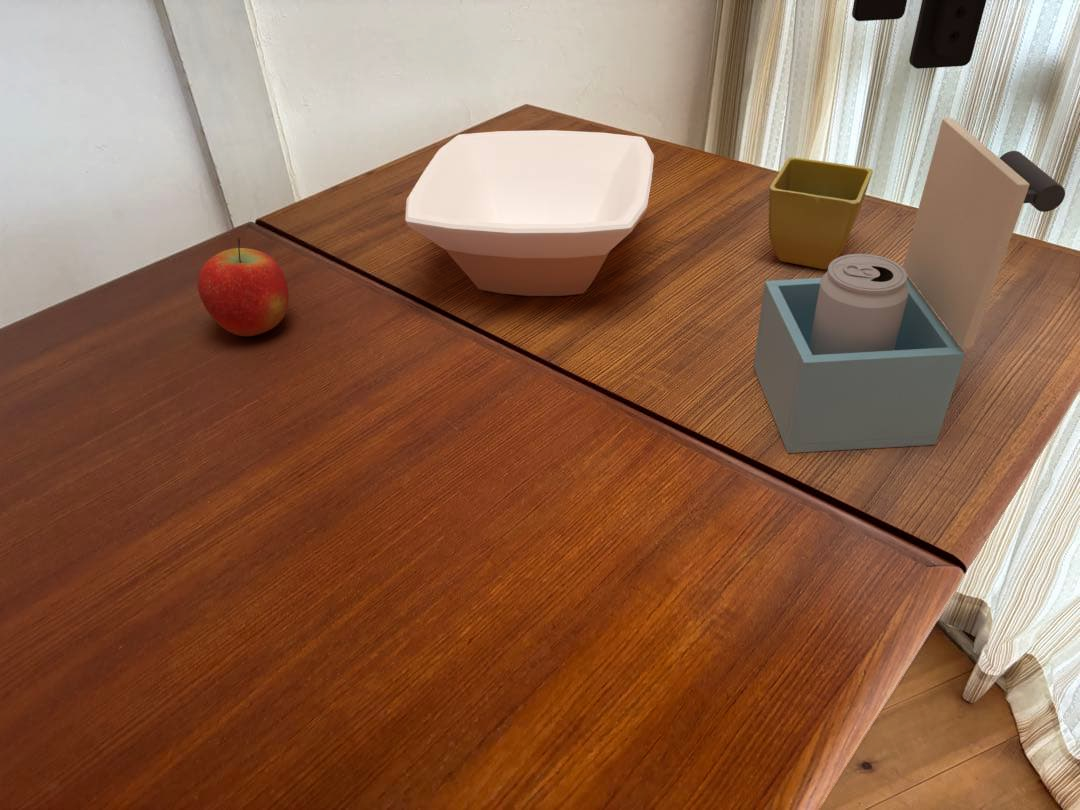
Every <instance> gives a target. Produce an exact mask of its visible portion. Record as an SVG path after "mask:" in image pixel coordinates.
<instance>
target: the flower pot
mask: <svg viewBox="0 0 1080 810" xmlns="http://www.w3.org/2000/svg"><path fill="white" fill-rule="evenodd" d="M873 172H874V171H873V169H872V168H869V167H868V168H867V167H863V166H859V165H851V164H844V163H838V162H829V161H823V160H815V159H808V158H803V157H802V158H801V157H791V156H790V157H788V158H787V159H786V160H785V161H784V163H783V166H782V167H781V169H780V170H779V172H778V173H777V175H776V176H775V178H774V180H773V181H772V183H771V184H770V186H769V195H768V236H769V240H770V243H771V246H772V250H773V252H774V253H775V255H776V257H777V258H778V260H779V261H780V262H784V263H789V264H794V265H800V266H806V267H809V268H814V269H820V270H828V267H829V264H830V263H831V262H832V261H833V260H834V259H836V258H838V257H840V256H841V253H842V252H843V250H844V248H845V247H846V245H847V242H848V240H849V238H850V234H851V232H852V229H853V227H854V225H855V223H856V221H857V218H858V216H859V214H860V211H861V208H862V206H863V203H864V199H865V197H866V193H867V191H868V188H869V185H870V182H871V178H872V175H873Z"/></svg>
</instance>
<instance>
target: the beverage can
mask: <svg viewBox="0 0 1080 810" xmlns="http://www.w3.org/2000/svg"><path fill="white" fill-rule="evenodd" d="M907 276H908V275H907V273H906V271H905V269H904V268H903V265H901V264H900V263H898V262H896V261H894V260H893V259H890V258H888V257H884V256H882V255H878V254H871V253H851V254H850V253H849V254H844V255H840V256H838V258H836V259H834V260H833V261H832V262H831V263H830V264H829V267H828V268H827V271H826V272H825V273H824V274H823V275H822V277H821V278H822V279H821V282H820V288H819V294H818V299H817V305H816V310H815V316H814V322H813V327H812V333H811V338H810V344H809V349H810V351H811V353H812V355H824V354H841V353H859V352H876V351H894V349H895V345H896V341H897V337H898V333H899V329H900V325H901V321H902V317H903V313H904V309H905V305H906V302H907V298H908V293H909V289H908V286H907V284H906V279H907Z"/></svg>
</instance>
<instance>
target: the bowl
mask: <svg viewBox="0 0 1080 810" xmlns="http://www.w3.org/2000/svg"><path fill="white" fill-rule="evenodd" d="M654 159H655V155H654V153H653V151H652V149H651V148H650V145H649V143H648V142H647V140H646V139H645V138H644V137H643V136H638V135H637V136H636V135H629V134H619V133H610V132H598V131H579V130H578V131H577V130H576V131H575V130H556V129H554V130H553V129H543V130H542V129H541V130H497V131H485V132H473V133H471V132H470V133H462V134H461V133H460V134H457V135H456V136H455V137H453V138H452V139H450V140H449V141H448V142H446V143H445V144H444V145H443V146H441V147H440V148H439V149H438V150H437V151H436V153H435V154H434V156H433V157H432V158H431V160H430V162H429V163H428V165H427V166H426V167H425V169H424V170H423V172H422V173H421V175H420V177H419V179H418V180H417V182H416V183H415V185H414V186H413V188H412V190H411V191H410V193H409V194H408V196H407V198H406V201H405V202H406V203H405V215H404V216H405V219H404V220H405V223H406V226H407V227H408V228H410V229H411V230H413V231H415V232H417V233H418V234H419V235H421V236H423V237H424V238H426V239H427V240H429V241H430V242H432V243H434V244H435V245H437V246H439V247H440V248H442V249H443V250H445V252H447V254H448V255H449V256H450V257H451V259H453V261H454V262H455V264H456V265H457V266H459V268H460V269H461V270H462V272H463V273H464V274H465V275H466V276H467V277H468V279H470V280H471V282H472V283H473V284H474V285H475V286H476V288H477V289H478V290H480V291H485V292H492V293H496V294H503V295H515V296H524V297H561V296H562V297H563V296H573V295H582V294H585V293H586V291H587V290H588V289H589V287H590V286H591V285H592V283H593V282H594V281H595V279H596V277H597V275H598V273H599V272H600V270H601V268H602V266H603V265H604V263H605V261H606V259H607V258H608V255H609V254H610V252H611V250H613V249H614V248H615V247H616V246H617V245H618V244H619V243H620V242H622V240H624V239H625V238H626V237H627V236H629V234H631V233H632V232H633V230H634V229H635V227H636V226H637V225H638V223H640V221H641V219H642V218H643V217H644V215H645V214H646V212H647V209H648V204H649V198H650V193H651V192H650V191H651V188H652V187H651V186H652V180H653V170H654V161H655V160H654Z"/></svg>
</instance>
